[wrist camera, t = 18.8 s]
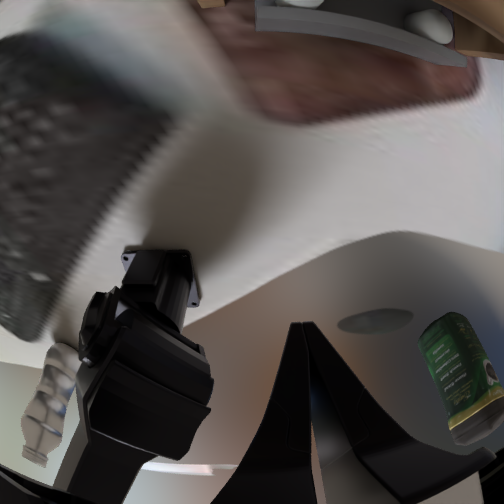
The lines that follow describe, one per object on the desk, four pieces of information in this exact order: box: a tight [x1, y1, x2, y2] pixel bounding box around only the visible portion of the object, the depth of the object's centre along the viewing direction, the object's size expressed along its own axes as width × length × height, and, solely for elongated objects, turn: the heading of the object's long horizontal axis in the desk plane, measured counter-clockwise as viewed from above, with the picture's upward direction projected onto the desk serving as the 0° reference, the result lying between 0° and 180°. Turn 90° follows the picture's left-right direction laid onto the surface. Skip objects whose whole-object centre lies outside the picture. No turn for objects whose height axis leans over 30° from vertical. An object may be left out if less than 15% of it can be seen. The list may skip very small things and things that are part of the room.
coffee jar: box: [418, 312, 504, 446], centre depth 24 cm, size 10×8×19 cm
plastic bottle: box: [21, 343, 82, 468], centre depth 25 cm, size 6×7×20 cm
